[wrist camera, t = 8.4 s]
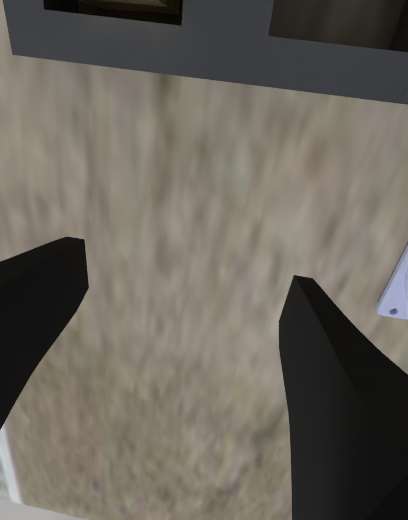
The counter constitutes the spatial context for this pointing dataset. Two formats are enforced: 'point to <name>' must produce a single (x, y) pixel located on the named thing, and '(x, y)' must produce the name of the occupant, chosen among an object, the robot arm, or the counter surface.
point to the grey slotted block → (212, 47)
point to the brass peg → (138, 5)
